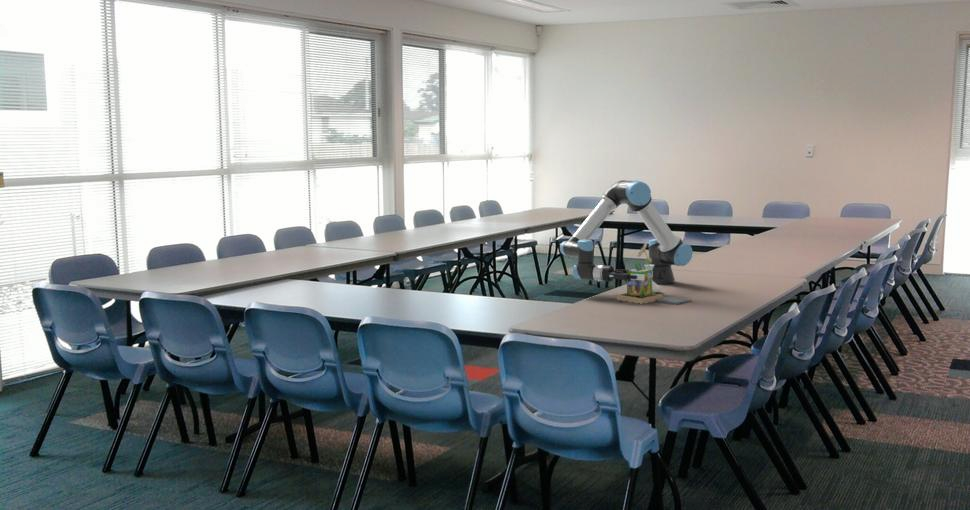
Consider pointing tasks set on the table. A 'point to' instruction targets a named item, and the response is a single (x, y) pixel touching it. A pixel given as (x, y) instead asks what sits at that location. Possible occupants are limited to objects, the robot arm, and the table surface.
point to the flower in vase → (649, 267)
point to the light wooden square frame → (632, 298)
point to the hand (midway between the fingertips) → (648, 275)
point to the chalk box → (640, 282)
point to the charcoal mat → (673, 300)
